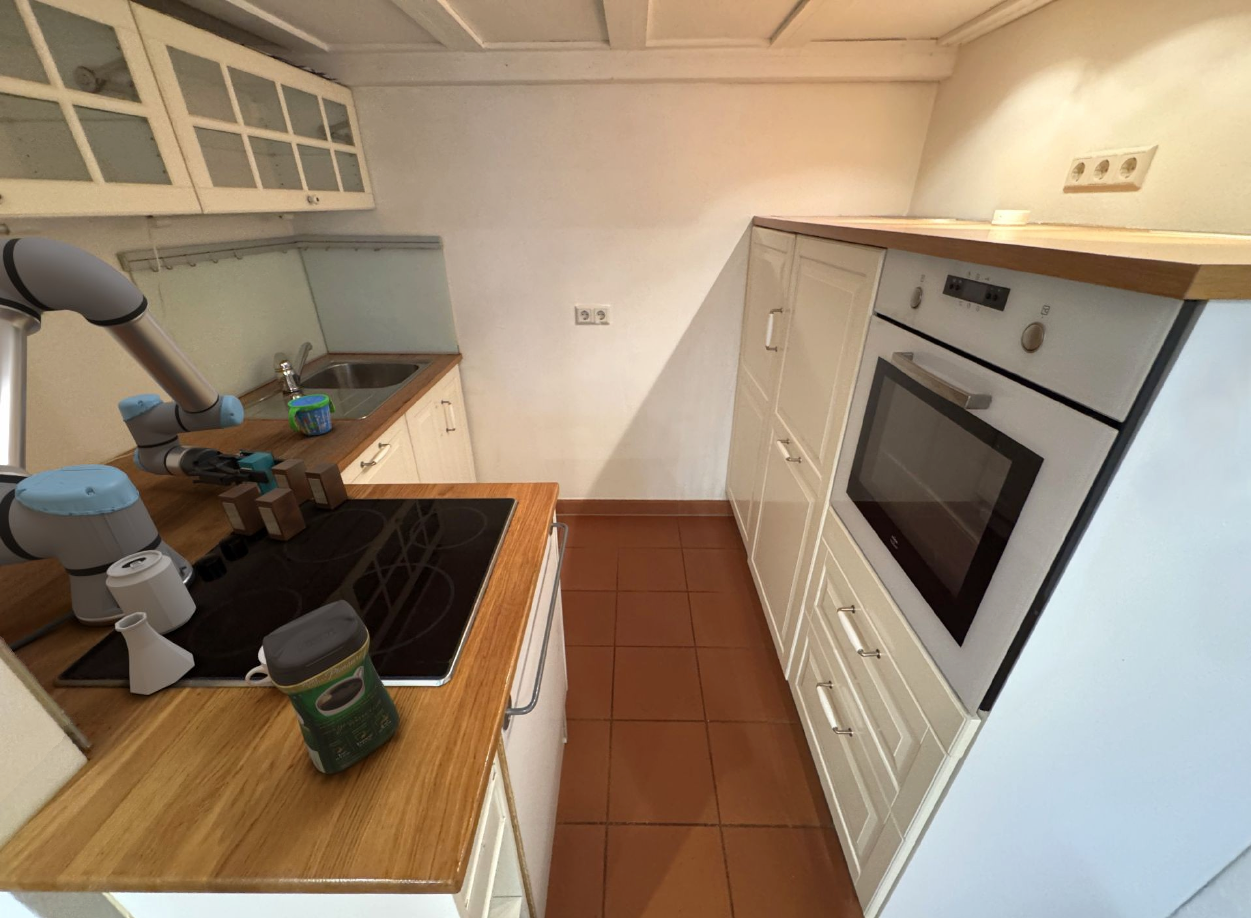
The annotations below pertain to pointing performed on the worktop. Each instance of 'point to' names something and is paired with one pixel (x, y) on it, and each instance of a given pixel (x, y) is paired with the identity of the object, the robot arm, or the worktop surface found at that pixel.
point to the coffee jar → (332, 685)
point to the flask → (151, 656)
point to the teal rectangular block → (260, 464)
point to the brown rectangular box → (293, 478)
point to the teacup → (261, 668)
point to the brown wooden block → (280, 513)
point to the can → (151, 590)
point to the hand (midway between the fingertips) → (277, 471)
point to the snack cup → (311, 414)
